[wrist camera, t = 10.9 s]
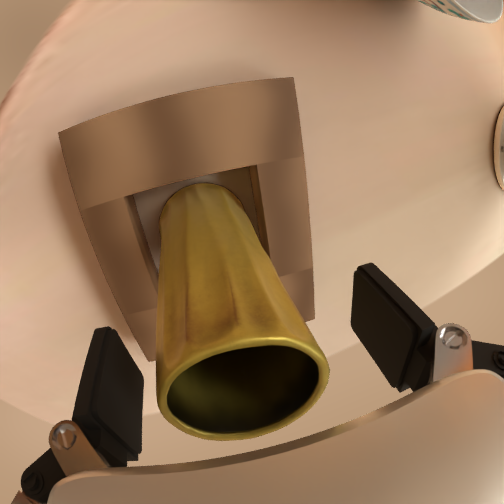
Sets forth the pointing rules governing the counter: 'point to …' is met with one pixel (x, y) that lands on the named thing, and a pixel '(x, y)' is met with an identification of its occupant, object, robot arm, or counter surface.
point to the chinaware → (469, 9)
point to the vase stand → (186, 167)
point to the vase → (227, 325)
